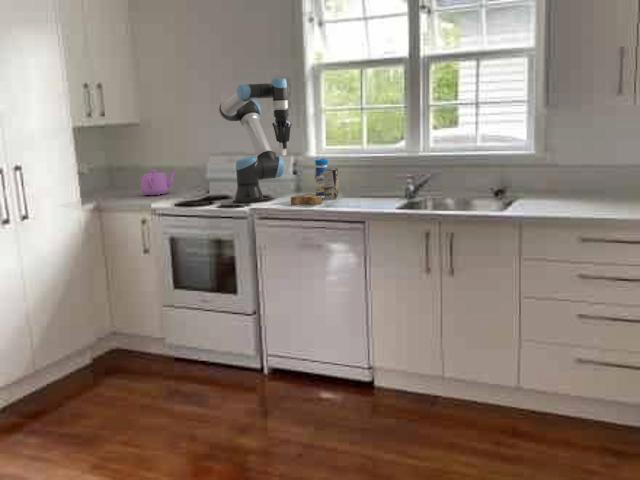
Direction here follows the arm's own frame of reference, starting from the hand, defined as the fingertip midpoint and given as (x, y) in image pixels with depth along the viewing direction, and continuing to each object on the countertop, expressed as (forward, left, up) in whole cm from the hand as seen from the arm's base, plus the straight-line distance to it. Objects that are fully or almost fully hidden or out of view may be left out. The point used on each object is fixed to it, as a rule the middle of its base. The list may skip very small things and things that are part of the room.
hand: (283, 155), depth 350 cm
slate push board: (+17, -3, -24) cm, 30 cm away
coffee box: (+18, +16, -25) cm, 34 cm away
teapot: (-96, -22, -25) cm, 102 cm away
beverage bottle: (+4, +23, -25) cm, 34 cm away
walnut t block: (+21, -3, -24) cm, 32 cm away
